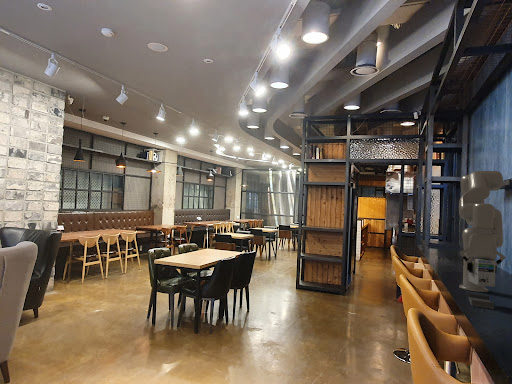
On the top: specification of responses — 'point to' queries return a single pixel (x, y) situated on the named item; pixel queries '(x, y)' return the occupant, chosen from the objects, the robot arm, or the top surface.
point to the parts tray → (480, 301)
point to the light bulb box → (482, 272)
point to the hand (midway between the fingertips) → (481, 273)
